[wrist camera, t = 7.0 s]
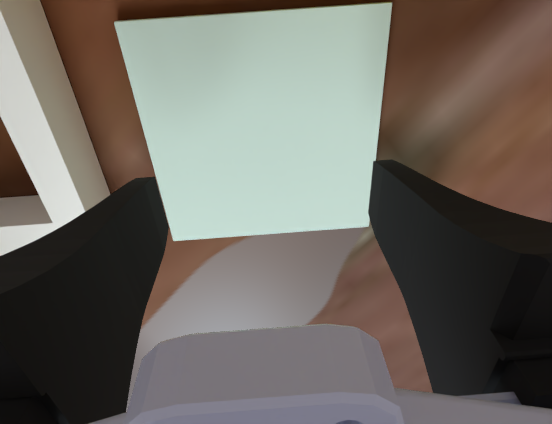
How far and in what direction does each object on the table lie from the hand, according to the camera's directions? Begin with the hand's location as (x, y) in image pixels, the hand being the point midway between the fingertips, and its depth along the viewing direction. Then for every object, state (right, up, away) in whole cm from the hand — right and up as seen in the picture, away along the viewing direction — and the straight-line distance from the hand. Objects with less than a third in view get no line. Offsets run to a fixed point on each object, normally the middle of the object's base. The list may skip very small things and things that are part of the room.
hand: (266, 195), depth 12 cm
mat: (0, +3, +4) cm, 5 cm away
